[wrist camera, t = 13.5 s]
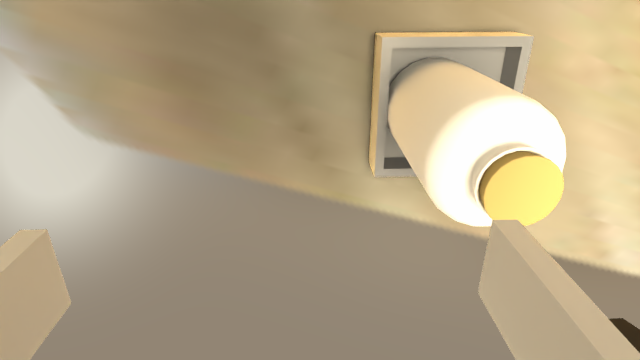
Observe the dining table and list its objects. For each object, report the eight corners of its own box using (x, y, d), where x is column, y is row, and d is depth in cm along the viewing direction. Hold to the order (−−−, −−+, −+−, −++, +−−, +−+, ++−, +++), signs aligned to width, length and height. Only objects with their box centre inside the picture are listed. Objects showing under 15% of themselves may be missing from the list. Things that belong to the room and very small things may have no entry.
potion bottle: (362, 102, 37) (408, 194, 21) (435, 33, 35) (552, 75, 18) (420, 162, 40) (501, 285, 23) (492, 102, 37) (637, 192, 21)
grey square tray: (375, 32, 35) (382, 37, 32) (513, 31, 36) (534, 35, 32) (368, 162, 40) (374, 177, 37) (489, 160, 41) (505, 175, 37)
